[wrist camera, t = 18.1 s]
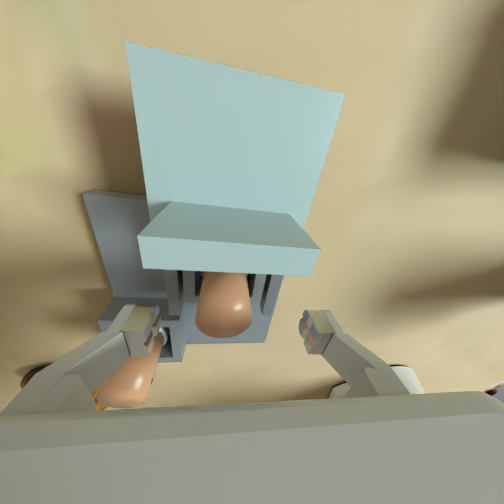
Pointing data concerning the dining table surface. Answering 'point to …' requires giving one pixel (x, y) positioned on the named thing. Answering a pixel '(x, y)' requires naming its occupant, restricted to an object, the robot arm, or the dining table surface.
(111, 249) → the housing
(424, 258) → the dining table surface
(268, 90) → the cover
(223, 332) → the jaw peg
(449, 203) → the dining table surface
